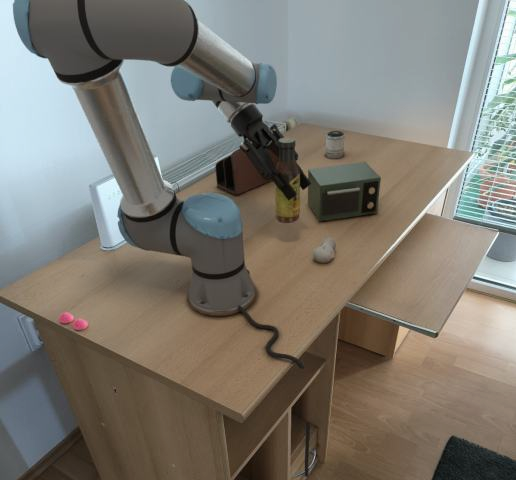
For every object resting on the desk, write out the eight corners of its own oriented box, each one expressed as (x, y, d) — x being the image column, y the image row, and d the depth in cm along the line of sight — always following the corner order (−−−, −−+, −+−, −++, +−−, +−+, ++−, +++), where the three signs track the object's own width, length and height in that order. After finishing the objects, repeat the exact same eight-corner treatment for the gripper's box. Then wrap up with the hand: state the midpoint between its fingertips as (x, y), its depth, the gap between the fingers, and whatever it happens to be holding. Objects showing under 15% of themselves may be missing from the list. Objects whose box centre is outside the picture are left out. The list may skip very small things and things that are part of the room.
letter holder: (282, 176, 168) (281, 133, 159) (236, 196, 158) (232, 150, 149) (262, 169, 174) (260, 126, 165) (216, 187, 164) (211, 143, 155)
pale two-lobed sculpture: (324, 270, 126) (307, 260, 127) (339, 255, 131) (322, 245, 132) (330, 257, 123) (312, 247, 124) (344, 242, 127) (327, 232, 128)
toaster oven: (380, 218, 142) (384, 180, 135) (321, 227, 140) (322, 189, 133) (362, 197, 153) (365, 161, 146) (307, 205, 151) (308, 168, 144)
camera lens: (325, 152, 182) (326, 129, 177) (343, 152, 182) (344, 129, 176) (325, 158, 178) (326, 135, 173) (343, 158, 177) (344, 135, 172)
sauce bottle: (297, 225, 128) (298, 145, 115) (273, 223, 129) (270, 145, 116) (301, 213, 133) (301, 135, 120) (278, 212, 134) (275, 135, 121)
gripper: (225, 114, 113) (289, 198, 116) (272, 92, 124) (328, 169, 128) (209, 135, 118) (270, 215, 122) (255, 112, 130) (309, 186, 133)
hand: (300, 191), depth 125 cm, fingers closed on sauce bottle, 6 cm apart
